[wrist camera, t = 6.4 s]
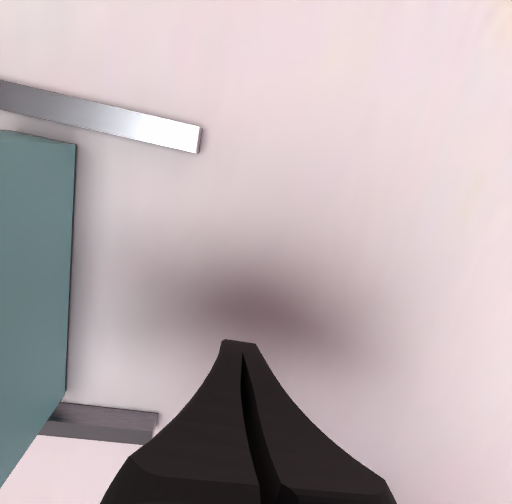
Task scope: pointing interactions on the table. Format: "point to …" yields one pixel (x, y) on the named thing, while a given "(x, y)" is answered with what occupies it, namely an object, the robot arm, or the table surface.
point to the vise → (121, 124)
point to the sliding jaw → (32, 285)
